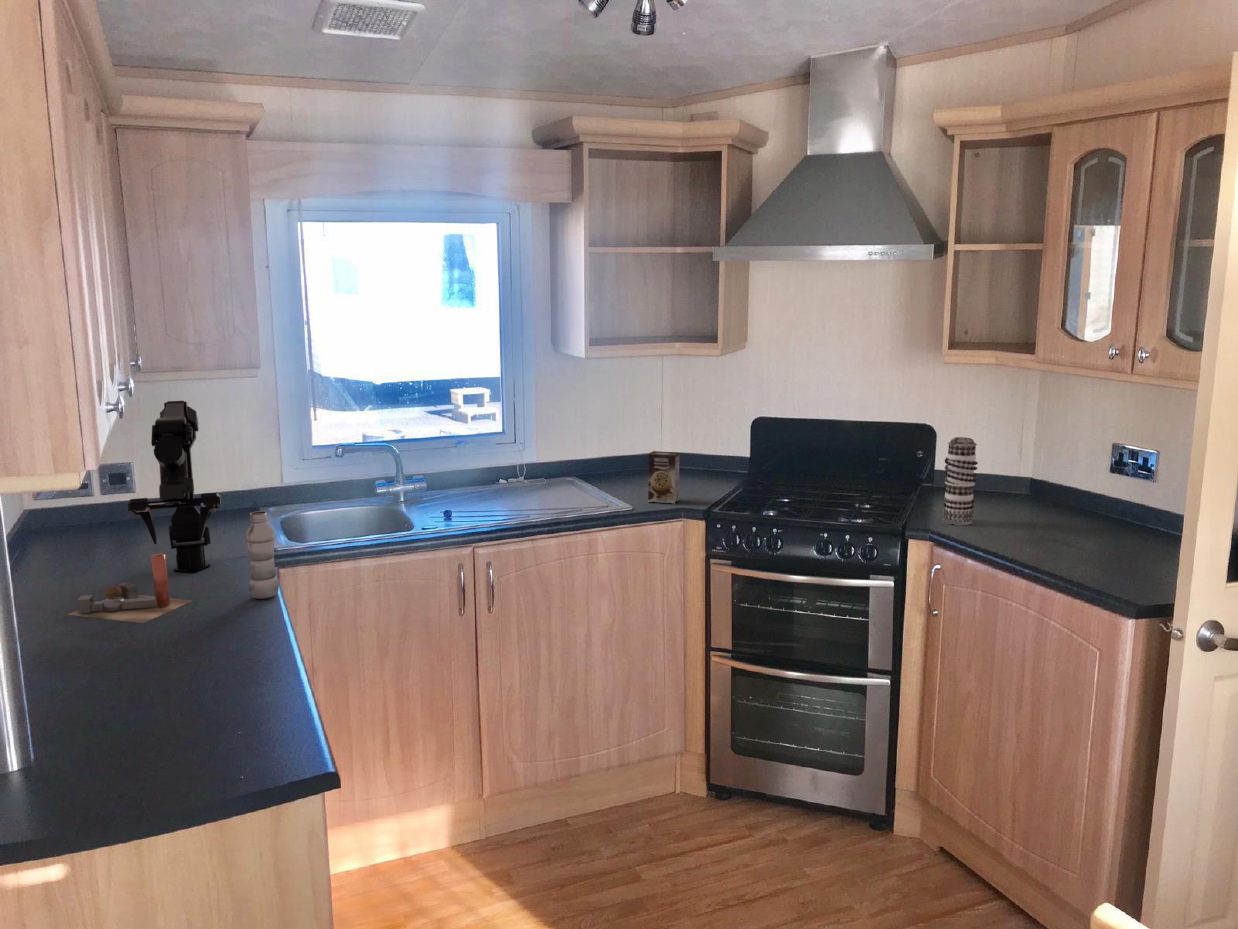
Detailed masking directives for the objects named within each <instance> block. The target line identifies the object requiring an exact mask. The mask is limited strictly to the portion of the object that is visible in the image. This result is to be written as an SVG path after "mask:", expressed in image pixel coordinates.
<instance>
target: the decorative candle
mask: <svg viewBox="0 0 1238 929" xmlns="http://www.w3.org/2000/svg"><path fill="white" fill-rule="evenodd" d="M947 444H948V449H947V450H948V451H947V456H945V459H944V460H943V461H944V463H945V466H944V469H945V470H944V475H945V478H944V483H945V485H946V486H945V492H944V498H943V502H944V503H942V505H943V507H944V508H943V509H942V513H943V514H942V518H943V519H944V518H945V519H946V520H954V521H960V522H962V521H964V522H966V521H967V522H969V521H972V520H973V519H974V516H973V515H974V510H973V508H975V506H974V503H975V500H974V486H975V485H976V481H977V479H976V478H975V477H977V474H976V473H975V471H976V470H978V467H977V466H976V465H978V461H977V459H976V458H977V455H976V450H977V448H976V446H977V445H978V444H977V443H975V441H974V439H972V438H971V437H965V436H964V437H963V436H962V437H961V436H959V437H958V436H957V437H956V436H955V437H953V438H951V439H950V441H949V442H947Z"/></svg>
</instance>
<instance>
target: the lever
mask: <svg viewBox="0 0 1238 929" xmlns="http://www.w3.org/2000/svg"><path fill="white" fill-rule="evenodd" d="M150 560H151V567H152V576H153V577H152V578H153V585H154V586H153V587H154V589H153V590H154V597H147V598H134V599H124V597H110V598H103V600H98V601H95V600H94V595H93V594H86V595H80V596H79V598H78V599H76V601H77V602H76V603H77V610H78V613H89V612H93V611H105V612H114V611H119V610H122V609H134V608H147V607H164V606H168V605H170V589H169V580H168V572H167V571H168V570H167V568H168V567H167V561H166V560H167V559H166V554H165V553H162V552H161V553H153V554H151V556H150Z"/></svg>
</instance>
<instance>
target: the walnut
mask: <svg viewBox="0 0 1238 929" xmlns="http://www.w3.org/2000/svg"><path fill="white" fill-rule="evenodd" d="M122 595H123V592H122V590H121V588H119V587H117V585H112V586H109V587H107V588H106V590H105V592H104V597H105V598H104V599H106V598H110V597H122Z"/></svg>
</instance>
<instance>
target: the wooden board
mask: <svg viewBox="0 0 1238 929" xmlns="http://www.w3.org/2000/svg"><path fill="white" fill-rule="evenodd" d="M116 586H117V587H119V588H121V590H122V592H123V595H122V597H124V599H134V598H147V597H155V595H145V594H144V595H143V594H138V585H137V584H133V583H129V582H122V583H118V584H117V585H116ZM169 598H170V597H169ZM192 602H193V600H190V599H180V598H170V605H168V606H164V607H147V608H134V609H122V610H119V611H114V612H105V611H93V612H89V613H78V609H77V610H75V611H73V612H70V613H68V614H67V615H68V616H77V617H86V618H96V619H104V620H111V621H121V622H129V623H130V622H131V623H136V624H137V623H138V624H145V623H146V622H149V621H152V620H153V619H156V618H157V617H160V616H162V615H164V614H167V613H169V612H171V611H174V610H175V609H178V608H180V607H182V606H184V605H187V604H189V603H192Z"/></svg>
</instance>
